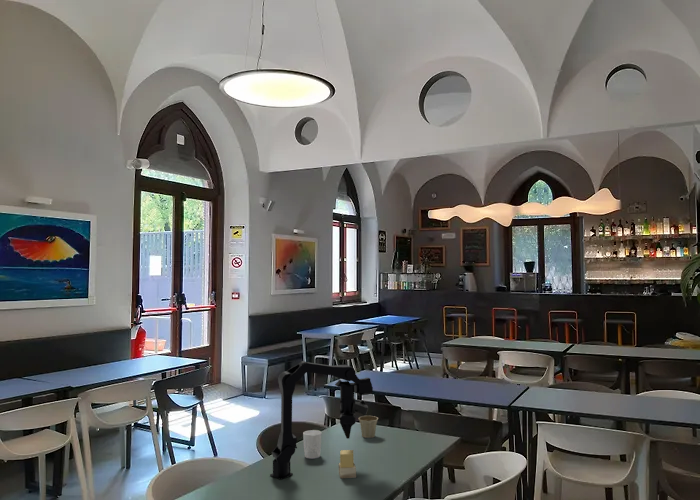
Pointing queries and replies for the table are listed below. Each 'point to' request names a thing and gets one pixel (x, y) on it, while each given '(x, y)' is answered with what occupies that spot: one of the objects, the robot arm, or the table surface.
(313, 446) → the white cup
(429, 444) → the table surface
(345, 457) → the ochre block
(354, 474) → the birch base block
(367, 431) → the flower pot
